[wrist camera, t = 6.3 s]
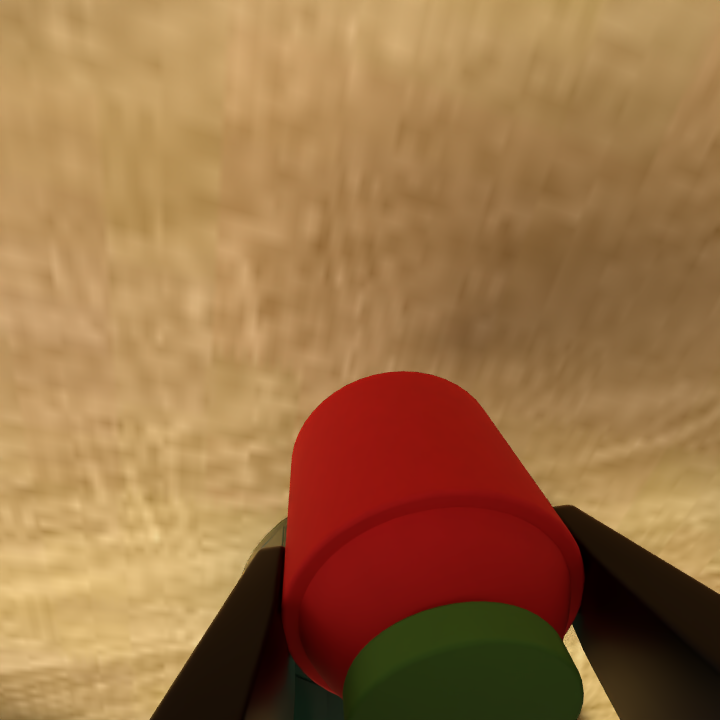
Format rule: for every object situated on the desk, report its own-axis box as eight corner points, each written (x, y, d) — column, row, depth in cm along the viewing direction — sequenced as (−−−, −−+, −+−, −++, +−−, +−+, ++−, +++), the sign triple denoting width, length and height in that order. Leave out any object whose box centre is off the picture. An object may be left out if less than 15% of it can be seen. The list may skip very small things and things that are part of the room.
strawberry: (471, 330, 10) (690, 554, 4) (469, 482, 12) (623, 791, 6) (281, 352, 10) (234, 623, 4) (307, 504, 12) (302, 848, 6)
